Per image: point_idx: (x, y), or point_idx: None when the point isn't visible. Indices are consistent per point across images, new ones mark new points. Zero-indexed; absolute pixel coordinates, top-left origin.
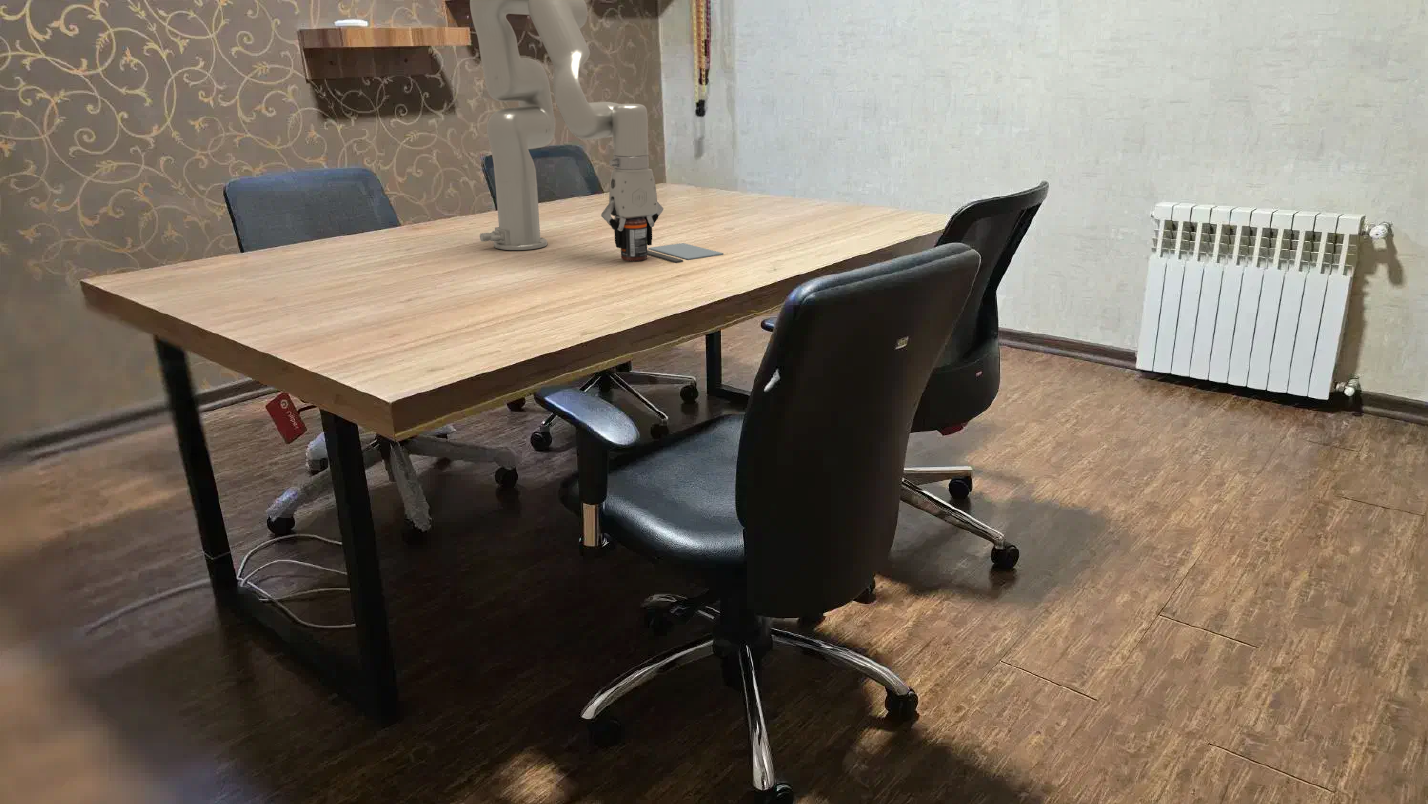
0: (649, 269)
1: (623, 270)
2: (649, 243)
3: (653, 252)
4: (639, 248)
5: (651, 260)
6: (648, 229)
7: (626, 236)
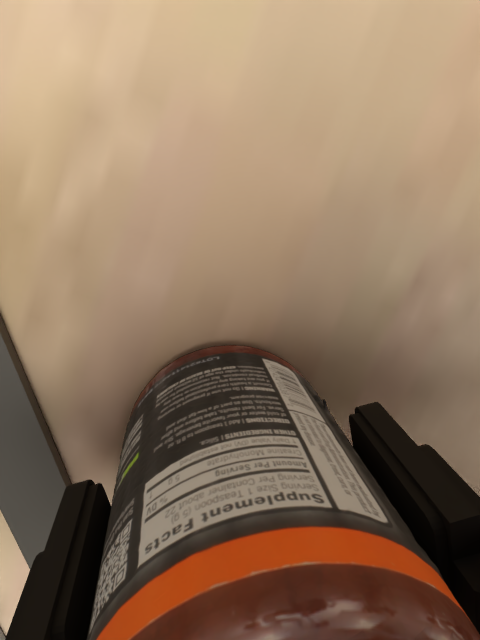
0: (252, 5)
1: (452, 81)
2: (88, 491)
3: (34, 549)
4: (229, 382)
5: (116, 354)
6: (64, 621)
7: (381, 493)
